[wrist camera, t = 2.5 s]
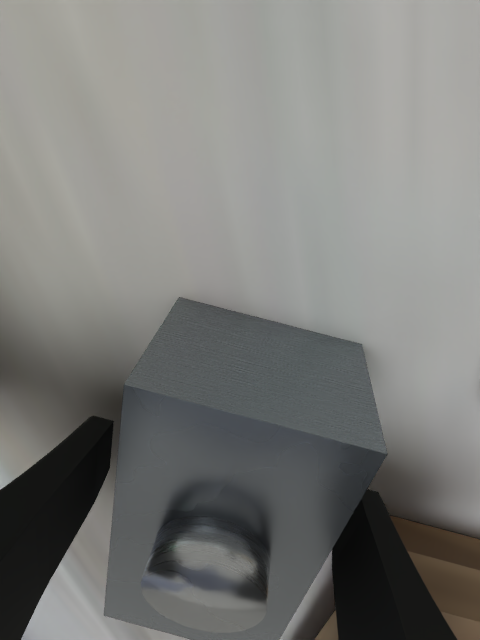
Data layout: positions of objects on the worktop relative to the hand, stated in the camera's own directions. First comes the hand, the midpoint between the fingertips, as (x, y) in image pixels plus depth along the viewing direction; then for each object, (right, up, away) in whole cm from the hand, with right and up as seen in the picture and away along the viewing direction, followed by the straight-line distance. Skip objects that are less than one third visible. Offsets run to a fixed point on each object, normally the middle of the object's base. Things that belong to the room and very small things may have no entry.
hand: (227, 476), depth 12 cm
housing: (0, +1, +1) cm, 2 cm away
